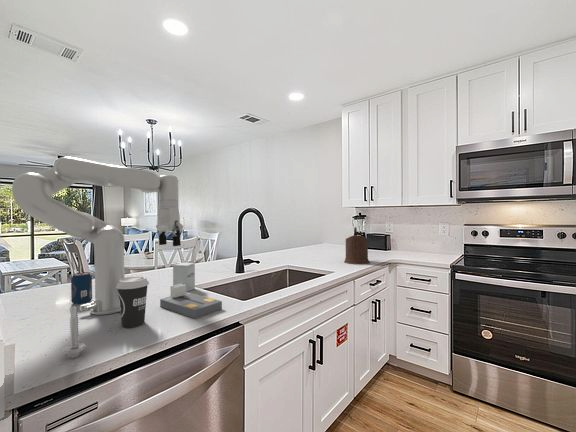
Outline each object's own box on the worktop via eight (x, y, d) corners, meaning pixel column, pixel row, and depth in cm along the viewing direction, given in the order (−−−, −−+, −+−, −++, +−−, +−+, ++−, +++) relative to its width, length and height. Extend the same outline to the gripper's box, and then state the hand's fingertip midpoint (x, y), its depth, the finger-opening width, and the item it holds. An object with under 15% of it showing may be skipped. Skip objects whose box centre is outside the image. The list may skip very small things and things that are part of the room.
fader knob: (174, 297, 110) (174, 287, 110) (170, 296, 112) (170, 286, 112) (186, 294, 114) (186, 284, 114) (181, 293, 116) (181, 283, 116)
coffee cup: (126, 332, 86) (125, 283, 86) (110, 326, 91) (110, 280, 91) (155, 322, 94) (154, 277, 94) (139, 316, 99) (138, 274, 99)
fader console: (195, 318, 97) (195, 309, 97) (160, 306, 110) (160, 298, 110) (221, 309, 107) (221, 300, 107) (187, 299, 120) (186, 291, 119)
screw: (88, 355, 72) (64, 363, 69) (83, 349, 75) (60, 356, 72) (87, 305, 72) (63, 310, 68) (82, 301, 75) (59, 306, 72)
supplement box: (187, 292, 129) (186, 265, 129) (172, 292, 130) (172, 265, 130) (195, 288, 136) (195, 262, 136) (181, 287, 138) (181, 262, 137)
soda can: (69, 302, 116) (69, 273, 115) (90, 298, 121) (89, 271, 120) (73, 306, 111) (72, 276, 111) (94, 302, 116) (93, 273, 116)
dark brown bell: (344, 264, 198) (344, 228, 197) (343, 258, 221) (343, 227, 221) (371, 264, 194) (371, 228, 194) (367, 259, 218) (367, 227, 218)
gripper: (148, 205, 120) (149, 245, 120) (173, 204, 110) (174, 247, 111) (164, 205, 126) (165, 243, 126) (189, 204, 117) (190, 245, 117)
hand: (169, 245), depth 119 cm, fingers open, 9 cm apart
